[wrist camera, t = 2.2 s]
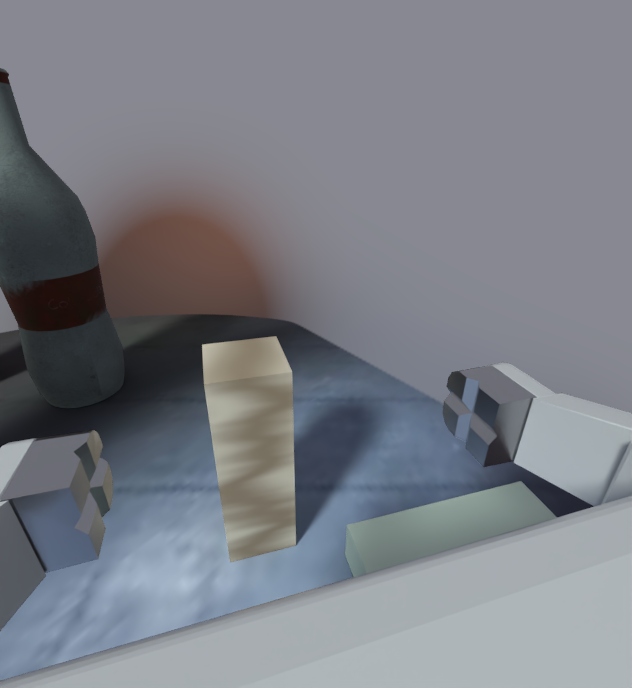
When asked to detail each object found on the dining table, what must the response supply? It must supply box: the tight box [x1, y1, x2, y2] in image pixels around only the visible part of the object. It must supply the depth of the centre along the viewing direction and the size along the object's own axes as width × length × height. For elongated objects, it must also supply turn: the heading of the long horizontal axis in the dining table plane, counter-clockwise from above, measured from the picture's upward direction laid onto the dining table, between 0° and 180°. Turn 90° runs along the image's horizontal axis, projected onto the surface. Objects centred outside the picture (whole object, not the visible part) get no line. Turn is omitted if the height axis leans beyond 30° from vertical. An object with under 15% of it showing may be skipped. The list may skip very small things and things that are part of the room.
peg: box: [202, 336, 296, 562], centre depth 25 cm, size 4×4×14 cm
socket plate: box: [345, 481, 557, 577], centre depth 21 cm, size 14×14×3 cm
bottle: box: [0, 68, 125, 408], centre depth 37 cm, size 9×9×30 cm
